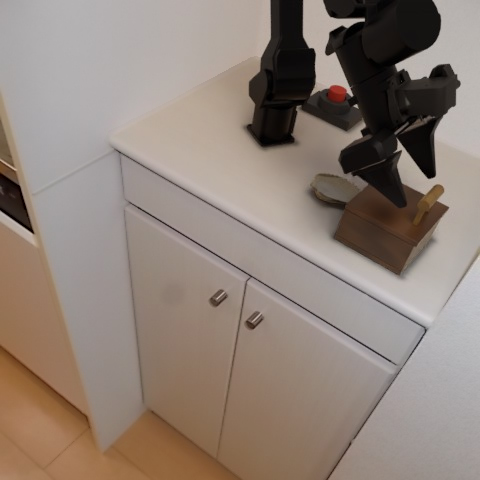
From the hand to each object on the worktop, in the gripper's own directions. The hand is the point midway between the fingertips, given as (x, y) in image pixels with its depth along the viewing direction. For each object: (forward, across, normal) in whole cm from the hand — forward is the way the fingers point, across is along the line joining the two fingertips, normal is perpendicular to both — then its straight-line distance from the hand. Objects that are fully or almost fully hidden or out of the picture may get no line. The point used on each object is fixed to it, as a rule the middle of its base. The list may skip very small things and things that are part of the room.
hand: (418, 192), depth 69 cm
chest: (+5, 0, +8) cm, 10 cm away
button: (-14, +25, +23) cm, 37 cm away
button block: (-12, +25, +25) cm, 37 cm away
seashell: (-2, +3, +16) cm, 16 cm away
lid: (+2, 0, +4) cm, 4 cm away
